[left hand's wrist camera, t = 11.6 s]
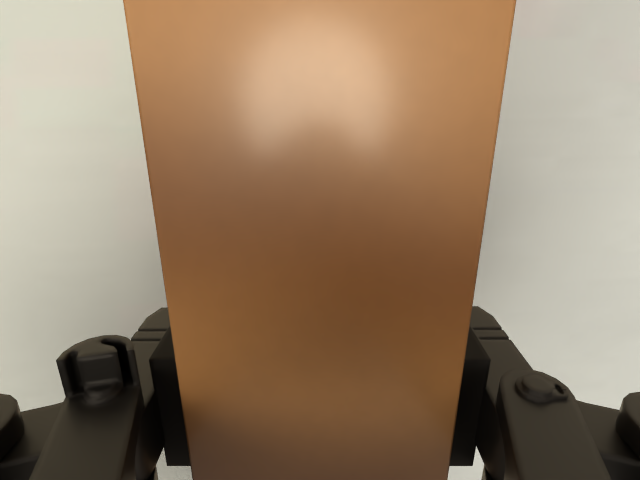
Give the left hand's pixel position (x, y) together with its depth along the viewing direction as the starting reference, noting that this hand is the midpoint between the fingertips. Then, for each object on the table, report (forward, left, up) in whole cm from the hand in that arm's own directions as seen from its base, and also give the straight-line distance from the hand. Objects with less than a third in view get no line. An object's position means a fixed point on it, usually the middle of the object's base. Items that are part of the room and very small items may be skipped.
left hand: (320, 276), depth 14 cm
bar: (+16, +17, -1) cm, 24 cm away
